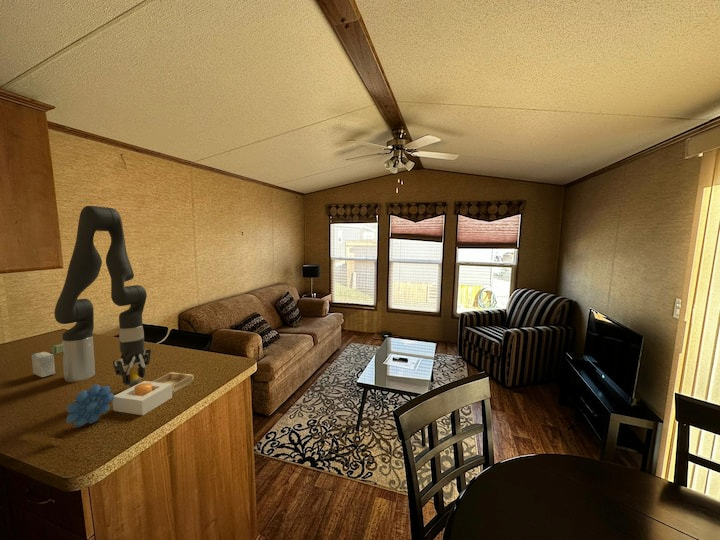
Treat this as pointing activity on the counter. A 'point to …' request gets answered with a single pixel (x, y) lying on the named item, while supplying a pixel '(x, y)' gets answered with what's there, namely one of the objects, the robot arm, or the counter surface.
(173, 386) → the tray
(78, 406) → the grapes
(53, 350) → the medication box
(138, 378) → the drill bit
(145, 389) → the button
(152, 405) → the frame
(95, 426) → the counter surface
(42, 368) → the medicine box
